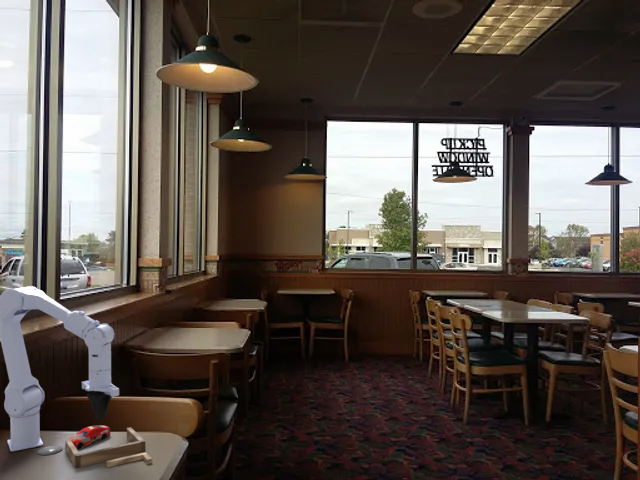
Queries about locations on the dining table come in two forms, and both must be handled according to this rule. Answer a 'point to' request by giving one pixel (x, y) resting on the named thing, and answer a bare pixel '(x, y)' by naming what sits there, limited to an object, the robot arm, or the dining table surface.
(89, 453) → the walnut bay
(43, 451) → the slate coaster
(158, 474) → the dining table surface
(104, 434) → the race car
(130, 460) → the oak crook stick
